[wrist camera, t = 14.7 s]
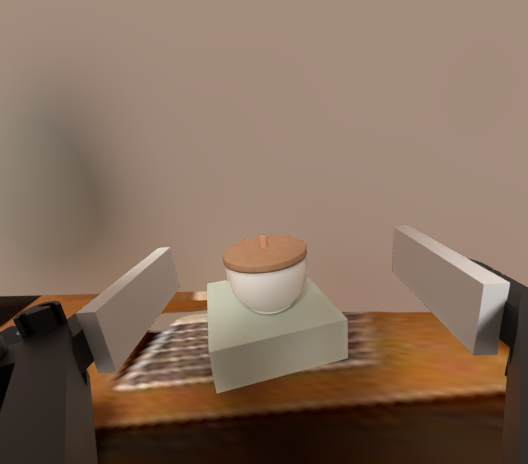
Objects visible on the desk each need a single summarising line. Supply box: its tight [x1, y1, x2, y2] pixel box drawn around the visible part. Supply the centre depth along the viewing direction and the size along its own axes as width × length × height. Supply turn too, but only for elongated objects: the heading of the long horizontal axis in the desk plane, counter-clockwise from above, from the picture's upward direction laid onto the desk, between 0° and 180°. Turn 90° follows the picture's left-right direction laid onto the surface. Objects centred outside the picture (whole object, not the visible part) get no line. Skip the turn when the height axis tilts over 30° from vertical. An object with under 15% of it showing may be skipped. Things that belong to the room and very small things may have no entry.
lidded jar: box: [223, 235, 307, 314], centre depth 33 cm, size 11×11×9 cm
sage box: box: [207, 274, 348, 393], centre depth 36 cm, size 16×16×6 cm
